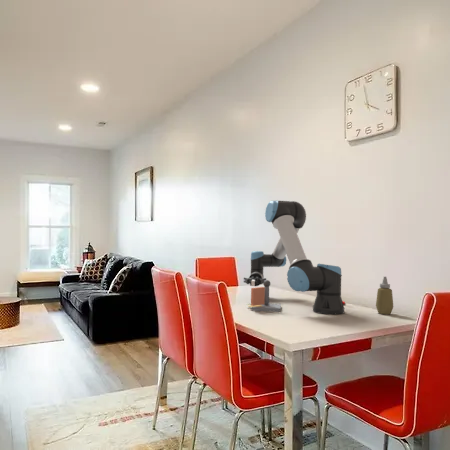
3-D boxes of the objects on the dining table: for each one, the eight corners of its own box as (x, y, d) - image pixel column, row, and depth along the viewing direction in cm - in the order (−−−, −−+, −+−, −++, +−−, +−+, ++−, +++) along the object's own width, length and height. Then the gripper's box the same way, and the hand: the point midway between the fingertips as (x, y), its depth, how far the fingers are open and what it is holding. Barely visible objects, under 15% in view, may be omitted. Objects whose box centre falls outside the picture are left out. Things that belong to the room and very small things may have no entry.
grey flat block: (280, 306, 222) (280, 303, 222) (280, 311, 208) (280, 308, 208) (247, 305, 225) (247, 301, 225) (245, 310, 211) (245, 306, 211)
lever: (266, 304, 219) (266, 279, 219) (271, 305, 216) (272, 280, 216) (249, 306, 210) (249, 281, 211) (254, 307, 208) (255, 281, 208)
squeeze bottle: (380, 311, 214) (380, 275, 215) (396, 313, 209) (396, 276, 209) (372, 313, 209) (373, 276, 209) (388, 316, 203) (389, 278, 203)
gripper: (267, 285, 245) (265, 291, 221) (244, 285, 247) (240, 290, 223) (267, 272, 245) (265, 276, 222) (244, 272, 247) (240, 275, 223)
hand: (252, 283), depth 222 cm, fingers closed
